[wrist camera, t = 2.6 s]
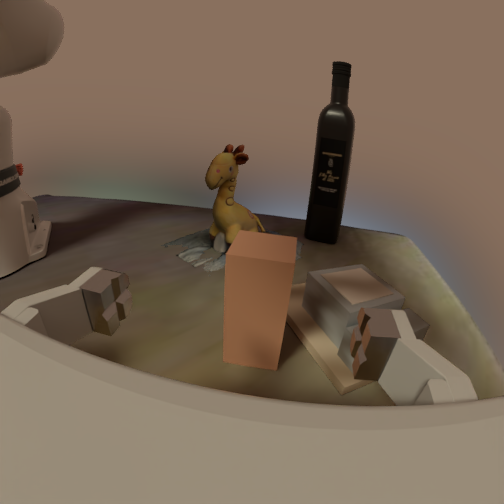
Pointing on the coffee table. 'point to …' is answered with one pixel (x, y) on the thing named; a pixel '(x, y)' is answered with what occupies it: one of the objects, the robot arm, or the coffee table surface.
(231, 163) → the stuffed giraffe
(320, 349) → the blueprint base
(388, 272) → the coffee table surface
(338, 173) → the wine bottle
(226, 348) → the pillar
